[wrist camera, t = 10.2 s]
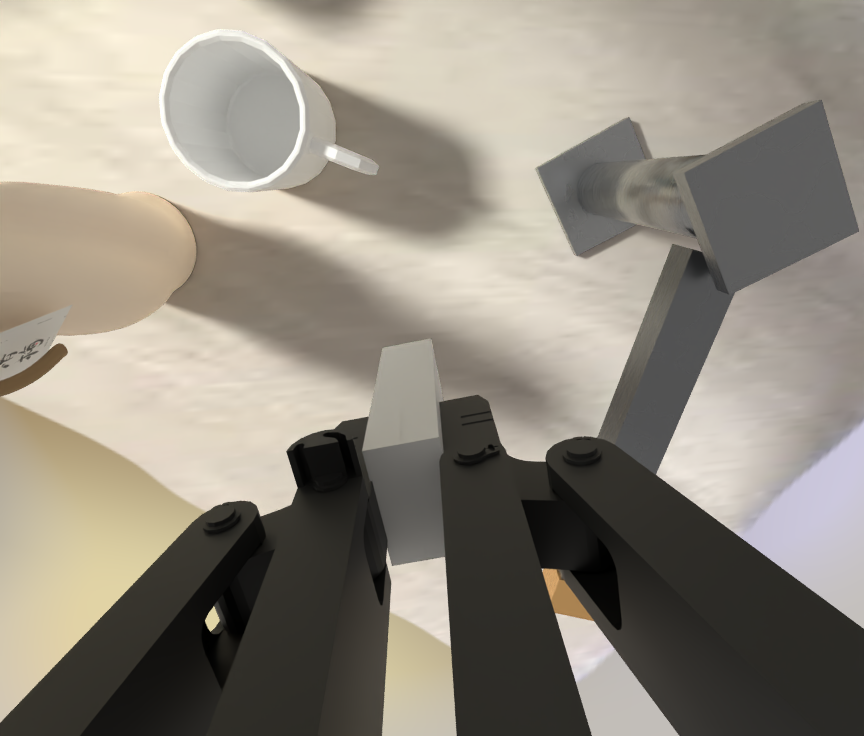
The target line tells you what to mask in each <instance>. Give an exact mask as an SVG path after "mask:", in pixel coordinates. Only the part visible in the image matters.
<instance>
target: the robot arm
mask: <svg viewBox="0 0 864 736" xmlns="http://www.w3.org/2000/svg"><path fill="white" fill-rule="evenodd" d="M286 452H287V455H288V458H289V461H290V465H291V468H292V471H293V474H294V477H295V481H296V484H297V487H298V489H297V491H296V494H295V497H294V499H293V502H292V505H290V506H288V507H285V508H283V509H281V510H278V511H275V512H272V513H270V514H267V515H264V516H261V517H260V514H259V511H258V508H257V506H256V505H255V504H253V503H252V502H248V501H236V502H227V503H223V504H222V505H221V504H220V505H218V506H215V507H213V508H212V509H211V510H209V511H207V512H206V513H204V514H202V515H201V516H200V517H199V518H197V519H196V520H195V521H194V522H192V524H191V525H190V526H189V527H188V528H187V529H186V530H185V531H184V532H183V533H182V534H181V535H180V536H179V537H178V538H177V539H176V540H175V541H174V542H173V543H172V544H171V546H169V547H168V549H167V550H166V551H165V552H164V553H163V554H162V555H161V556H160V557H159V558H158V559H157V560H156V561H155V562H154V563H153V564H152V565H151V566H150V567H149V568H148V569H147V570H146V571H145V573H144V574H143V575H142V576H141V577H140V578H139V579H138V580H137V581H136V582H135V583H134V584H133V585H132V586H131V587H130V588H129V589H128V590H127V591H126V592H125V593H124V594H123V596H122V597H121V598H120V599H119V600H118V601H117V602H116V603H115V604H114V605H113V606H112V607H111V608H110V609H109V610H108V611H107V612H106V613H105V614H104V615H103V616H102V617H101V618H100V619H99V620H98V622H97V623H96V624H95V625H94V626H93V627H92V628H91V629H90V630H89V631H88V632H87V633H86V634H85V635H84V636H83V637H82V638H81V639H80V640H79V641H78V642H77V644H75V645H74V647H73V648H72V649H71V650H70V651H69V652H68V653H67V654H66V655H65V656H64V657H63V658H62V659H61V660H60V661H59V662H58V663H57V664H56V665H55V667H53V668H52V669H51V670H50V672H49V673H48V674H47V675H46V676H45V677H44V678H43V679H42V680H41V681H40V682H39V683H38V684H37V685H36V686H35V687H34V688H33V689H32V690H31V691H30V692H29V693H28V695H27V696H26V697H25V698H24V699H23V700H22V701H21V702H20V703H19V704H18V705H17V706H16V707H15V708H14V709H13V710H12V711H11V712H10V713H9V714H8V715H7V716H6V717H5V718H4V720H3V721H2V722H1V723H0V736H382V724H383V708H384V692H385V674H386V659H387V642H388V627H389V610H390V594H391V579H390V575H389V571H388V568H387V564H386V554H387V548H388V552H389V556H390V560H391V563H392V566H394V565H400V564H405V563H411V562H417V561H423V560H428V559H434V558H440V557H445V560H446V576H447V591H448V607H449V622H450V638H451V653H452V668H453V683H454V699H455V716H456V731H457V736H592V735H591V732H590V728H589V725H588V722H587V718H586V715H585V712H584V708H583V705H582V702H581V698H580V695H579V692H578V689H577V685H576V682H575V678H574V675H573V672H572V668H571V665H570V662H569V658H568V655H567V652H566V648H565V645H564V642H563V639H562V635H561V632H560V629H559V625H558V622H557V619H556V615H555V612H554V609H553V605H552V602H551V599H550V595H549V592H548V589H547V585H546V582H545V579H544V575H543V572H542V569H541V568H543V569H558V570H561V573H562V575H563V578H564V580H565V582H566V584H567V585H568V586H569V588H570V589H571V590H572V592H573V593H574V594H575V596H576V597H577V598H578V600H579V601H580V603H581V604H582V605H583V607H584V608H585V609H586V611H587V612H588V613H589V615H590V616H591V617H592V619H593V620H594V621H595V623H596V624H597V625H598V627H599V628H600V629H601V631H602V632H603V633H604V635H605V636H606V638H607V639H608V640H609V642H610V643H611V644H612V646H613V647H614V648H615V650H616V651H617V652H618V654H619V655H620V656H621V658H622V659H623V660H624V662H625V663H626V664H627V666H628V667H629V668H630V670H631V671H632V673H633V674H634V675H635V676H636V678H637V679H638V681H639V682H640V683H641V685H642V686H643V687H644V688H645V690H646V691H647V693H648V694H649V695H650V697H651V698H652V699H653V701H654V702H655V703H656V705H657V706H658V707H659V709H660V710H661V712H662V713H663V714H664V716H665V717H666V718H667V720H668V721H669V722H670V724H671V725H672V726H673V728H674V729H675V730H676V732H677V733H678V734H679V736H864V629H863V628H862V627H861V626H859V625H858V624H856V623H855V622H854V621H852V620H851V619H850V618H848V617H847V616H846V615H844V614H843V613H842V612H840V611H839V610H838V609H836V608H835V607H834V606H832V605H831V604H829V603H828V602H827V601H825V600H824V599H823V598H821V597H820V596H819V595H817V594H816V593H814V592H813V591H812V590H810V589H809V588H808V587H806V586H805V585H804V584H802V583H801V582H800V581H798V580H797V579H795V578H794V577H793V576H792V575H790V574H789V573H788V572H786V571H785V570H784V569H782V568H781V567H779V566H778V565H777V564H775V563H774V562H773V561H771V560H770V559H769V558H767V557H766V556H765V555H763V554H762V553H761V552H759V551H758V550H757V549H755V548H754V547H752V546H751V545H750V544H748V543H747V542H746V541H744V540H743V539H742V538H740V537H739V536H738V535H736V534H735V533H734V532H732V531H731V530H729V529H728V528H727V527H725V526H724V525H723V524H721V523H720V522H719V521H717V520H716V519H715V518H713V517H712V516H711V515H709V514H708V513H707V512H705V511H704V510H702V509H701V508H700V507H698V506H697V505H696V504H694V503H693V502H692V501H690V500H689V499H688V498H686V497H685V496H684V495H682V494H681V493H680V492H678V491H677V490H675V489H674V488H673V487H671V486H670V485H669V484H667V483H666V482H665V481H663V480H662V479H661V478H659V477H658V476H657V475H655V474H654V473H652V472H651V471H650V470H648V469H647V468H646V467H644V466H643V465H642V464H640V463H639V462H638V461H636V460H635V459H634V458H632V457H631V456H630V455H628V454H627V453H625V452H624V451H623V450H621V449H620V448H619V447H617V446H616V445H615V444H613V443H611V442H609V441H607V440H604V439H599V438H594V437H585V436H584V437H575V438H573V439H568V440H564V441H562V442H559V443H557V444H555V445H554V446H552V447H551V448H550V449H549V450H548V451H547V454H546V462H532V461H523V460H519V459H515V458H513V457H511V456H509V455H508V454H507V453H506V450H505V448H504V447H503V446H502V444H501V443H500V440H499V436H498V433H497V429H496V426H495V423H494V420H493V416H492V413H491V409H490V406H489V402H488V401H487V400H485V399H483V398H482V397H480V396H479V395H475V396H469V397H464V398H459V399H453V400H448V401H444V399H443V394H442V389H441V384H440V379H439V374H438V369H437V364H436V359H435V354H434V349H433V344H432V339H431V338H430V339H425V340H420V341H415V342H409V343H404V344H399V345H394V346H388V347H383V348H382V353H381V358H380V363H379V368H378V373H377V378H376V383H375V388H374V393H373V398H372V403H371V408H370V413H369V417H364V418H359V419H354V420H348V421H343V422H341V423H340V424H339V425H338V426H337V427H336V428H335V429H333V430H324V431H320V432H317V433H313V434H310V435H308V436H306V437H304V438H301V439H300V440H298V441H297V442H295V443H294V444H292V445H291V446H290V448H289V449H288V450H287V451H286ZM213 606H214V607H215V609H216V612H217V614H218V617H219V619H220V622H219V623H218V624H217V626H216V627H215V628H214V629H213V630H212V631H211V632H210V631H209V629H208V628H207V625H206V623H205V619H206V617H207V615H208V613H209V612H210V610H211V609H212V608H213Z"/></svg>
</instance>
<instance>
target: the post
mask: <svg viewBox="0 0 864 736" xmlns="http://www.w3.org/2000/svg"><path fill="white" fill-rule="evenodd" d="M535 169H536V171H537V173H538V176H539V178H540V180H541V182H542V184H543V187H544V189H545V191H546V193H547V196H548V198H549V200H550V202H551V204H552V207H553V209H554V211H555V213H556V215H557V218H558V220H559V222H560V224H561V227H562V229H563V231H564V233H565V235H566V238H567V240H568V242H569V244H570V246H571V249H572V251H573V253H574V255H576V256H578V255H579V254H581V253H583V252H585V251H587V250H589V249H591V248H593V247H595V246H597V245H599V244H601V243H602V242H604V241H606V240H608V239H610V238H612V237H614V236H616V235H618V234H620V233H622V232H623V231H625V230H627V229H629V228H631V227H633V226H635V225H637V224H638V225H642V226H646V227H650V228H655V229H659V230H663V231H668V232H672V233H676V234H680V235H685V236H689V237H693V238H697V239H698V242H699V245H700V247H701V250H702V253H703V255H704V258H705V261H706V263H707V266H708V268H709V271H710V274H711V276H712V279H713V282H714V284H715V287H716V290H718V291H721V292H723V293H726V294H728V295H730V294H732V293H734V292H736V291H738V290H740V289H742V288H744V287H747V286H749V285H751V284H753V283H755V282H757V281H759V280H761V279H763V278H765V277H767V276H769V275H771V274H773V273H775V272H777V271H779V270H781V269H783V268H785V267H787V266H789V265H791V264H793V263H795V262H797V261H799V260H801V259H803V258H806V257H808V256H810V255H812V254H814V253H816V252H818V251H820V250H822V249H824V248H826V247H828V246H830V245H832V244H834V243H836V242H838V241H840V240H842V239H844V238H846V237H848V236H850V235H852V234H854V233H856V232H858V231H859V229H858V225H857V222H856V218H855V215H854V211H853V208H852V204H851V201H850V197H849V194H848V190H847V187H846V183H845V180H844V176H843V173H842V169H841V166H840V162H839V159H838V155H837V152H836V148H835V145H834V141H833V138H832V134H831V131H830V127H829V124H828V120H827V117H826V113H825V110H824V106H823V103H822V100H818V101H813V102H808V103H803V104H801V105H799V106H797V107H796V108H794V109H792V110H790V111H788V112H786V113H784V114H782V115H781V116H779V117H777V118H775V119H773V120H771V121H769V122H767V123H765V124H764V125H762V126H760V127H758V128H756V129H754V130H752V131H750V132H749V133H747V134H745V135H743V136H741V137H739V138H737V139H735V140H734V141H732V142H730V143H728V144H726V145H724V146H722V147H720V148H719V149H717V150H715V151H713V152H711V153H709V154H707V155H698V156H684V157H671V158H657V159H645V156H644V154H643V151H642V149H641V146H640V144H639V141H638V138H637V136H636V133H635V131H634V128H633V126H632V123H631V120H630V118H629V117H628V118H625V119H623V120H621V121H619V122H618V123H616V124H614V125H612V126H610V127H609V128H607V129H605V130H603V131H601V132H600V133H598V134H596V135H594V136H592V137H591V138H589V139H587V140H585V141H583V142H582V143H580V144H578V145H576V146H574V147H573V148H571V149H569V150H567V151H565V152H564V153H562V154H560V155H558V156H556V157H554V158H553V159H551V160H549V161H547V162H545V163H544V164H542V165H540V166H538V167H536V168H535Z"/></svg>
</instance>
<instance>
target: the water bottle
mask: <svg viewBox="0 0 864 736" xmlns="http://www.w3.org/2000/svg"><path fill="white" fill-rule="evenodd" d="M196 255H197V253H196V242H195V238H194V234H193V232H192V229H191V227H190V225H189V223H188V222H187V220H186V219H185V217H184V216H183V215H182V214H181V212H180V211H179V210H178V209H177V208H176V207H174V206H173V205H172V204H171V203H169V202H168V201H166V200H164V199H163V198H161V197H159V196H156V195H153V194H150V193H146V192H127V193H121V194H114V193H110V192H105V191H99V190H93V189H86V188H78V187H69V186H59V185H49V184H40V183H29V182H0V396H4V395H7V394H10V393H12V392H15V391H17V390H19V389H22V388H24V387H26V386H28V385H29V384H31V383H33V382H35V381H36V380H38V379H39V378H41V377H42V376H43V375H45V374H46V373H47V372H48V371H49V370H51V369H52V368H53V367H54V366H55V365H56V364H57V363H58V362H59V361H60V360H61V359H62V358H63V357H65V356H66V355H67V353H68V351H67V349H66V347H65V346H64V345H63V344H56V345H55V346H54V347H52V348H51V349H50V350H49V348H50V346H51V344H52V342H53V340H54V339H55V337H56V335H63V336H72V335H87V334H96V333H103V332H109V331H113V330H117V329H121V328H124V327H127V326H129V325H132V324H135V323H137V322H139V321H141V320H143V319H144V318H146V317H148V316H149V315H151V314H152V313H154V312H155V311H156V310H158V309H159V308H160V307H161V306H162V305H163V304H164V303H165V302H166V301H167V300H168V299H169V297H170V296H171V294H172V293H173V291H175V290H176V289H178V288H179V287H181V286H182V285H183V284H184V283H185V282H186V281H187V279H188V278H189V276H190V275H191V273H192V271H193V268H194V265H195V262H196ZM48 350H49V351H48Z"/></svg>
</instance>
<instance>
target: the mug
mask: <svg viewBox="0 0 864 736" xmlns="http://www.w3.org/2000/svg"><path fill="white" fill-rule="evenodd" d="M159 101H160V112H161V123H162V125H163V128H164V130H165V133H166V135H167V138H168V141H169V143H170V146H171V148H172V149H173V150H174V152H175V153H176V154H177V156H178V157H179V158H180V160H181V161H182V162H183V164H184V165H185V166H186V167H187V168H188V169H189V170H190V171H192V172H193V173H194V174H196V175H197V176H198V177H199V178H201V179H202V180H203V181H205V182H206V183H209V184H211V185H214V186H216V187H219V188H222V189H224V190H227V191H239V192H258V191H268V190H278V189H288V188H292V187H296V186H299V185H303V184H306V183H307V182H309V181H310V180H311V179H313V178H314V177H316V176H317V175H319V174H320V173H321V171H322V170H323V168H324V167H325V166H326V164H327V163H328V161H332V162H334V163H337V164H339V165H342V166H344V167H347V168H350V169H352V170H355V171H358V172H361V173H364V174H367V175H377V172H378V169H379V166H378V165H377V164H376V163H375V162H374V161H373V160H372V159H369V158H367V157H365V156H363V155H360V154H358V153H355V152H353V151H351V150H348V149H346V148H343V147H341V146H339V145H336V144H335V142H336V120H335V117H334V114H333V110H332V107H331V103H330V101H329V100H328V98H327V96H326V95H325V93H324V92H323V90H322V89H321V87H320V86H319V84H317V83H316V82H315V81H314V80H313V79H312V78H311V77H309V76H308V75H307V74H306V73H305V72H304V71H302V70H301V69H300V68H299V67H298V66H296V65H295V64H294V63H293V62H292V61H290V60H289V59H288V58H287V57H286V56H284V55H283V54H282V53H281V52H280V51H278V50H277V49H276V48H275V47H274V46H273V45H271V44H270V43H269V42H268V41H266V40H264V39H262V38H259V37H257V36H255V35H252V34H250V33H247V32H245V31H241V30H226V29H217V30H214V31H210V32H207V33H204V34H201V35H197V36H195V37H194V38H192V39H191V40H190V41H189V42H187V43H186V44H185V45H184V46H182V47H181V48H180V49H179V50H177V52H176V53H175V55H174V57H173V58H172V60H171V62H170V63H169V65H168V67H167V68H166V70H165V72H164V76H163V80H162V85H161V90H160V95H159Z"/></svg>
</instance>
